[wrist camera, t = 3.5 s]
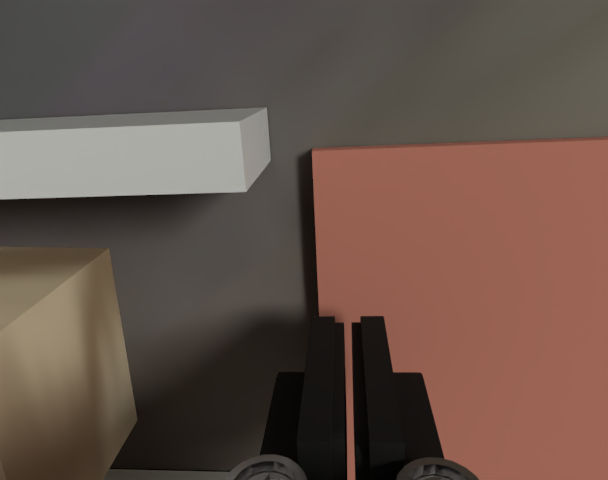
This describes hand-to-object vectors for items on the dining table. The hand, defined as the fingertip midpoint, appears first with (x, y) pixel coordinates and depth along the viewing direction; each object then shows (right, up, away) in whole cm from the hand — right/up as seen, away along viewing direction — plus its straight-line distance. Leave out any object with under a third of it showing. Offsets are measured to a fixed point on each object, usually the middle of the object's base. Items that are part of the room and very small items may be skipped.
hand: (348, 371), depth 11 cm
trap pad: (+3, +1, +1) cm, 4 cm away
